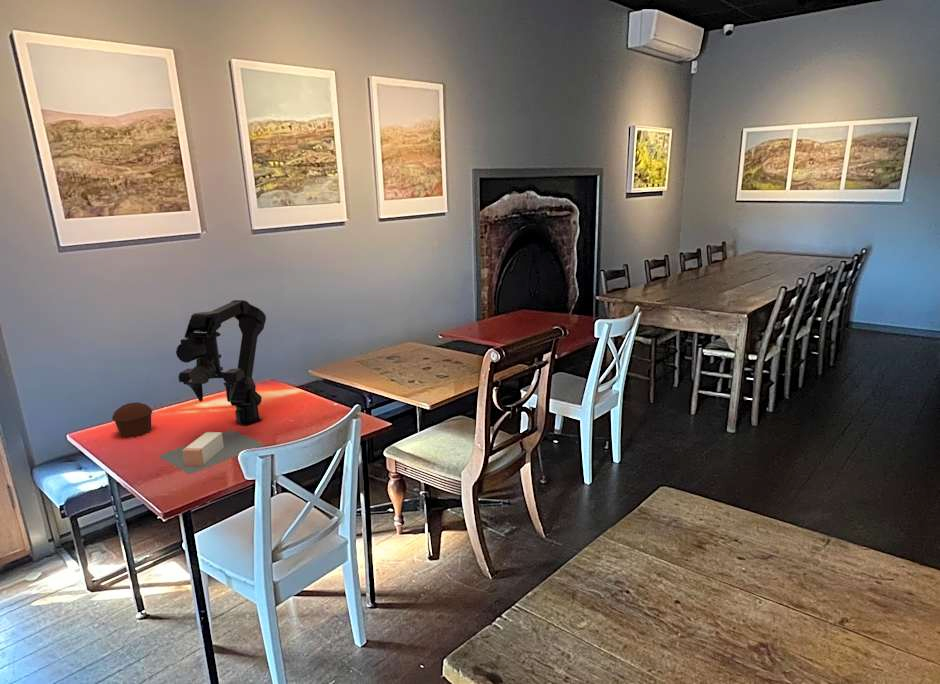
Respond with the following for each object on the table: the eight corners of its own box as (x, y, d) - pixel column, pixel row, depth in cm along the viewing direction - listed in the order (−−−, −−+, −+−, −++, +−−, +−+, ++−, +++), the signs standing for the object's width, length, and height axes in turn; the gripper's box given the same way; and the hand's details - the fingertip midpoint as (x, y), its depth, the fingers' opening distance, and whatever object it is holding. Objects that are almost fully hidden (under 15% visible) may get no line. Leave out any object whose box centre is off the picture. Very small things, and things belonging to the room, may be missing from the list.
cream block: (206, 432, 178) (182, 450, 165) (221, 432, 177) (198, 450, 165) (208, 447, 179) (184, 466, 166) (223, 447, 178) (201, 466, 166)
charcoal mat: (232, 431, 192) (232, 430, 192) (266, 446, 180) (266, 444, 180) (157, 456, 174) (157, 455, 174) (189, 475, 162) (189, 474, 162)
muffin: (149, 423, 201) (144, 396, 198) (160, 431, 193) (156, 403, 191) (110, 434, 192) (105, 405, 190) (121, 443, 185) (115, 413, 182)
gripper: (164, 360, 171) (172, 410, 175) (224, 360, 170) (231, 410, 174) (185, 350, 182) (192, 397, 186) (242, 350, 180) (248, 398, 184)
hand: (215, 401), depth 182 cm, fingers open, 9 cm apart
